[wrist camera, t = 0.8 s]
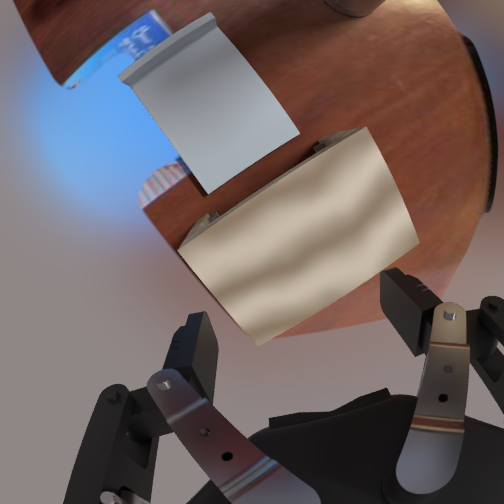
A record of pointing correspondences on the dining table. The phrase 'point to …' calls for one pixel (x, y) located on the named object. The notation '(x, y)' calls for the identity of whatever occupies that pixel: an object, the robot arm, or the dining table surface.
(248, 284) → the small table
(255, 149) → the slab
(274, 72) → the dining table surface
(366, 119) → the dining table surface
